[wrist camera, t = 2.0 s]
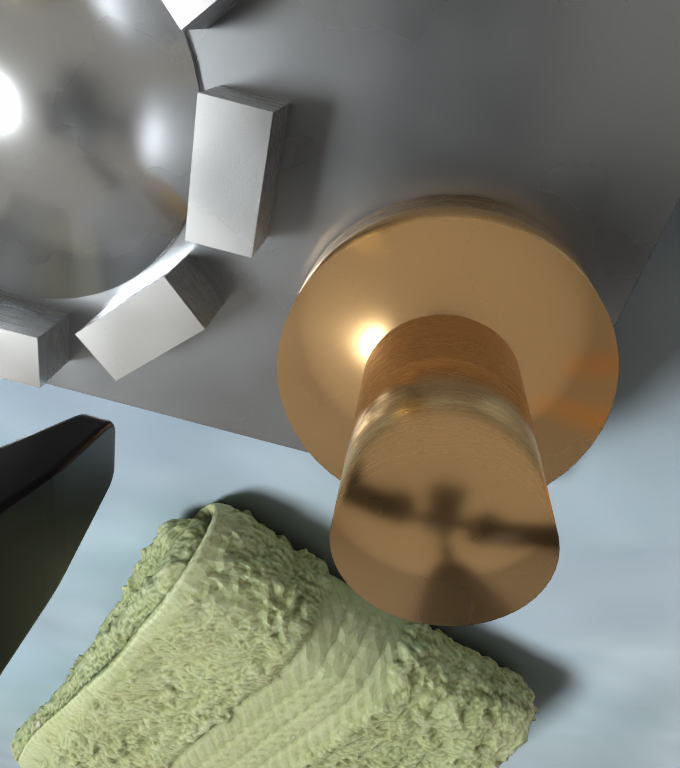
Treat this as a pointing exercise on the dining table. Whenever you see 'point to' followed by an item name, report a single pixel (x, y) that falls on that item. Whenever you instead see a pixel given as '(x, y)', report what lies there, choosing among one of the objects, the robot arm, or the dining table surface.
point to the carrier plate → (297, 167)
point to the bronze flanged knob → (447, 400)
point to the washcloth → (268, 670)
